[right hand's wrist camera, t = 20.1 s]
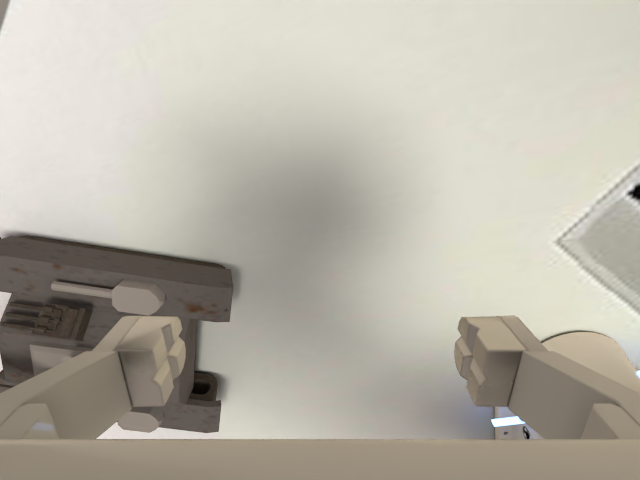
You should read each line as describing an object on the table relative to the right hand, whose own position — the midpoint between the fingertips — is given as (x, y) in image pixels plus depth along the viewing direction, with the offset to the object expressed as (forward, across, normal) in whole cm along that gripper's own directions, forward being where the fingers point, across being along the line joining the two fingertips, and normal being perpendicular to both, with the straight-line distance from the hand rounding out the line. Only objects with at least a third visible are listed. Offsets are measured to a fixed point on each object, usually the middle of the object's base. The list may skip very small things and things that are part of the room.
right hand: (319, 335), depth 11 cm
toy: (+28, -23, -19) cm, 41 cm away
